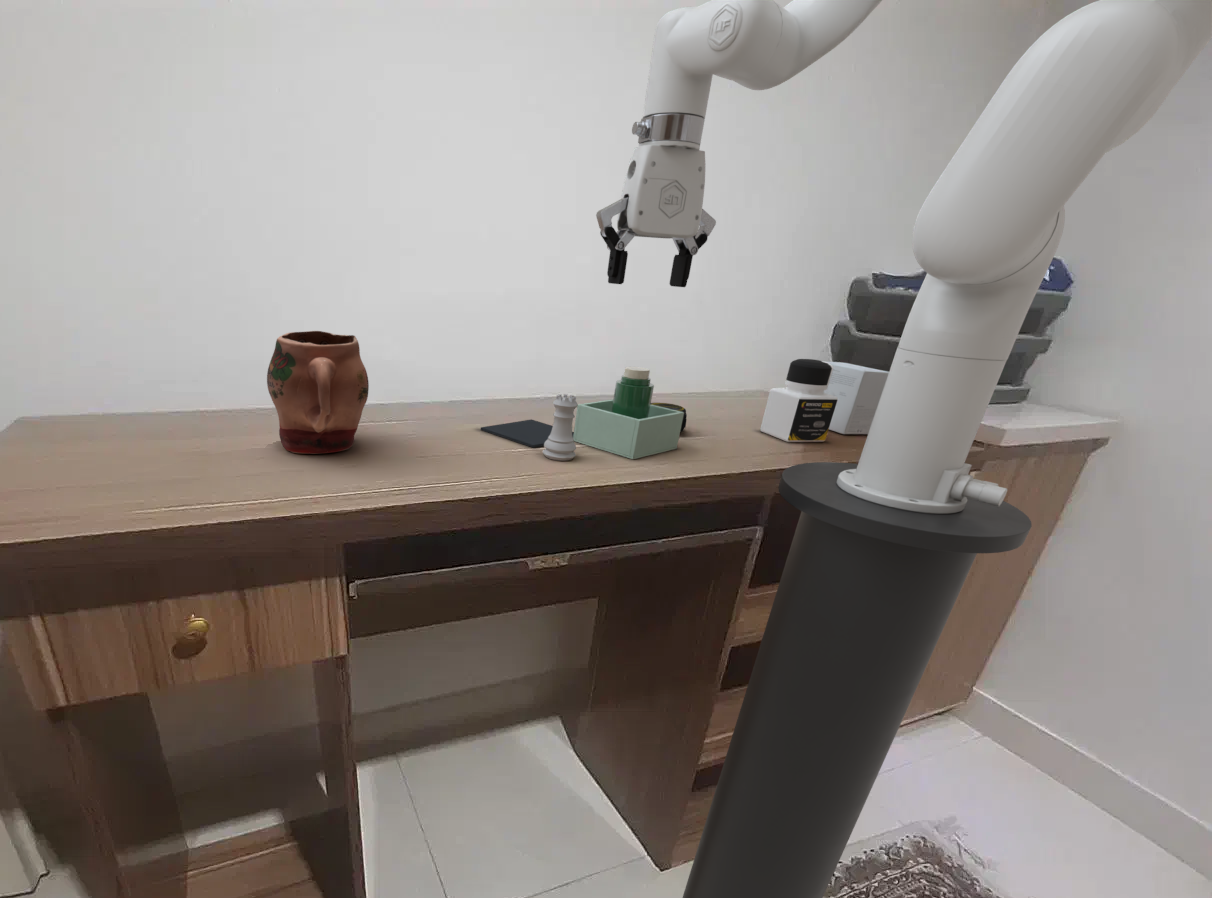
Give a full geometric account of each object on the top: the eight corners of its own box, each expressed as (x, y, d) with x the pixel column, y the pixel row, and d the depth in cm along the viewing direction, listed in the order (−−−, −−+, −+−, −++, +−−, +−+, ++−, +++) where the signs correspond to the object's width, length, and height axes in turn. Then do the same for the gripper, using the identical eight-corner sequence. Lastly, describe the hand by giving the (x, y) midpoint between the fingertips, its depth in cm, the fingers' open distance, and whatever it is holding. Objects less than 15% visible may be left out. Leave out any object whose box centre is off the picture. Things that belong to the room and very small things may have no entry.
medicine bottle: (787, 442, 101) (809, 363, 96) (758, 431, 107) (778, 356, 102) (825, 442, 102) (849, 364, 97) (794, 431, 109) (815, 357, 104)
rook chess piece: (535, 453, 87) (542, 393, 84) (561, 450, 89) (569, 391, 86) (555, 462, 84) (563, 400, 80) (582, 459, 86) (591, 398, 82)
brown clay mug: (387, 469, 77) (388, 348, 71) (282, 476, 73) (273, 347, 67) (351, 427, 93) (349, 326, 87) (263, 430, 89) (255, 324, 83)
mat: (584, 437, 96) (584, 435, 96) (533, 447, 89) (533, 445, 89) (531, 421, 103) (531, 419, 103) (480, 429, 97) (480, 427, 97)
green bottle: (650, 444, 94) (664, 370, 89) (628, 449, 91) (642, 372, 86) (621, 436, 97) (633, 364, 93) (599, 440, 94) (610, 366, 89)
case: (676, 448, 94) (684, 412, 91) (632, 459, 87) (639, 420, 85) (617, 431, 101) (622, 397, 98) (572, 440, 94) (577, 404, 92)
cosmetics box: (874, 435, 110) (895, 371, 105) (843, 435, 108) (864, 370, 103) (827, 420, 119) (846, 361, 114) (798, 420, 117) (816, 360, 112)
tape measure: (638, 431, 102) (642, 407, 100) (641, 422, 108) (645, 399, 106) (683, 437, 100) (688, 413, 98) (683, 427, 106) (688, 404, 104)
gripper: (624, 124, 75) (603, 283, 83) (747, 140, 80) (717, 289, 87) (594, 134, 82) (577, 281, 89) (710, 148, 87) (685, 286, 94)
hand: (646, 285), depth 88 cm, fingers open, 9 cm apart
